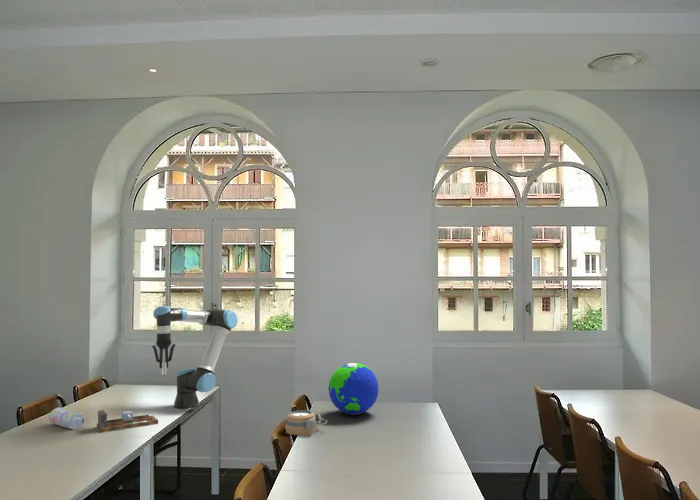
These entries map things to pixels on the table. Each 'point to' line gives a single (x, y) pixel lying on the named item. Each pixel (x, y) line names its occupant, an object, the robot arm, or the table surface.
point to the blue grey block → (127, 415)
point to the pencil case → (66, 418)
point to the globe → (353, 388)
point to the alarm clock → (302, 422)
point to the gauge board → (123, 422)
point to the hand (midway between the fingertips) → (163, 373)
